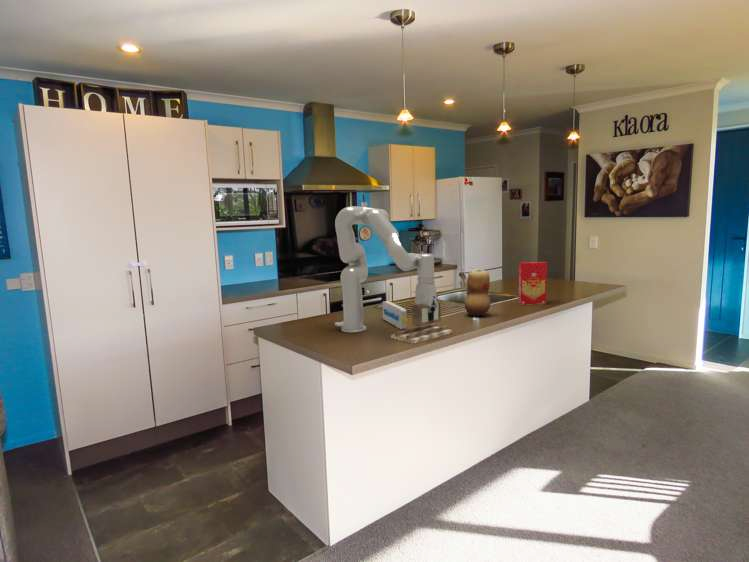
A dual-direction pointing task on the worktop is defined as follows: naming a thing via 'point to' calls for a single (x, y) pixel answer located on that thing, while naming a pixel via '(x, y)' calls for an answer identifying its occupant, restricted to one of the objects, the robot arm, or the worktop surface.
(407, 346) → the worktop surface
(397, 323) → the white and blue box
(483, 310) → the tan lobed piece
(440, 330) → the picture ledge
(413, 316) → the brown rectangular block
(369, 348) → the worktop surface
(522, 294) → the food packaging
